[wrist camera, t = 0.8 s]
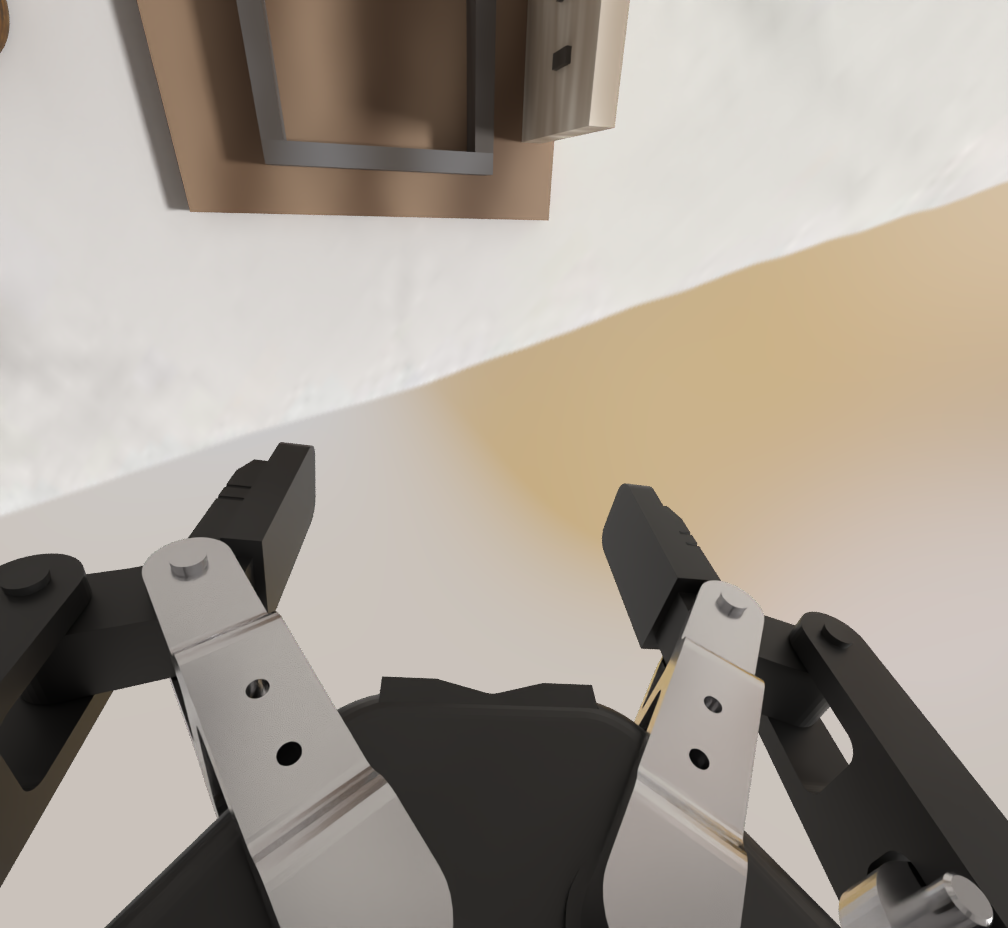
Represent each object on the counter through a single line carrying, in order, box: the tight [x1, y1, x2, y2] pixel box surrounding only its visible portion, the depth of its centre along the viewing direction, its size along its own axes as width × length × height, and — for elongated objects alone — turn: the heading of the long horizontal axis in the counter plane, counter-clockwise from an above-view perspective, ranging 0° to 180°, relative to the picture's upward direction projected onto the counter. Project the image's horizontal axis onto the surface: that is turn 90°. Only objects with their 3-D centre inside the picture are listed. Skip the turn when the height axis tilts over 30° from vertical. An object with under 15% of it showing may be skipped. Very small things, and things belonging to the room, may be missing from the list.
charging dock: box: [137, 0, 630, 220], centre depth 21 cm, size 20×16×10 cm
